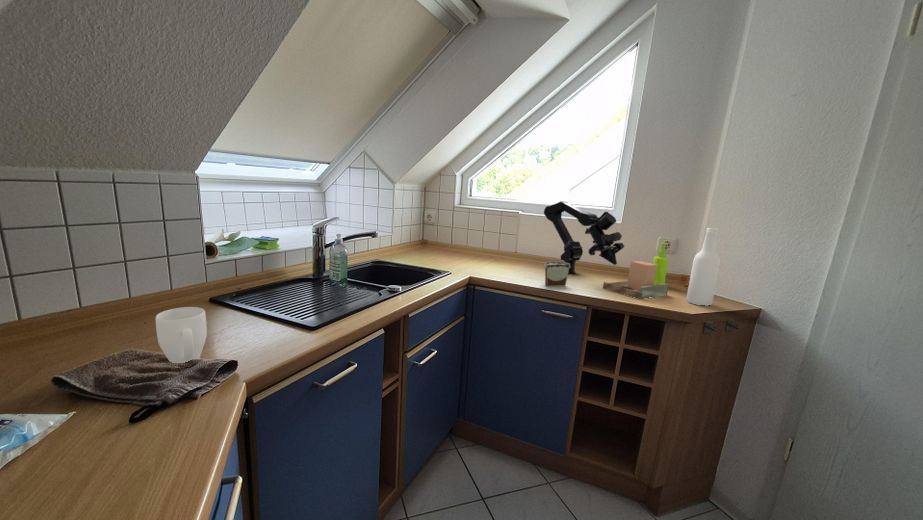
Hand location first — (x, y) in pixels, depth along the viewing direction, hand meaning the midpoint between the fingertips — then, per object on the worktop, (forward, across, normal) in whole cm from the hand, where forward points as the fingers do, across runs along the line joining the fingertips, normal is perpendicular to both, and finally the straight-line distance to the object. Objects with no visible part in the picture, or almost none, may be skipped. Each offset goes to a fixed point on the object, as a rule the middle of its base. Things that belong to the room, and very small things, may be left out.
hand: (615, 264), depth 169 cm
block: (+15, 0, -4) cm, 15 cm away
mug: (+17, -156, -3) cm, 157 cm away
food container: (-1, -27, +15) cm, 31 cm away
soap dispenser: (+12, +23, +2) cm, 26 cm away
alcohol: (+30, +11, -16) cm, 35 cm away
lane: (+15, 0, -1) cm, 15 cm away
